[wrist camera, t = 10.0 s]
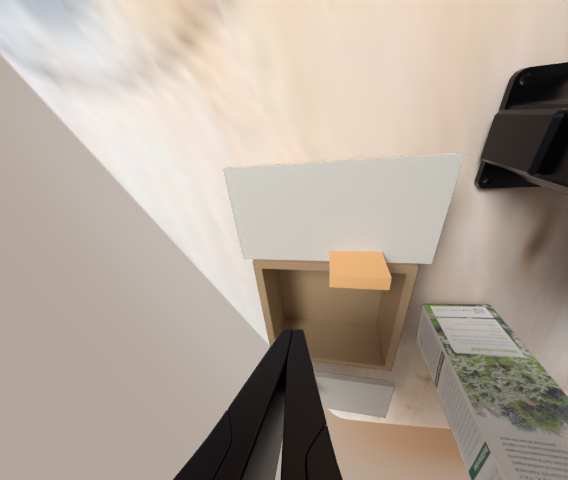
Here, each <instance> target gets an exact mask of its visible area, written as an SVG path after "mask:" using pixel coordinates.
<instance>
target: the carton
mask: <svg viewBox="0 0 568 480" xmlns="http://www.w3.org/2000/svg"><path fill="white" fill-rule="evenodd" d="M386 264H387V267H388V270H389V272H390V275H391V278H392V279H391V284H390V289H389V290H374V289H354V288H335V287H329V261H304V260H266V259H254V260H253V266H254V271H255V276H256V281H257V286H258V291H259V295H260V300H261V305H262V310H263V315H264V320H265V324H266V329H267V334H268V339H269V344H270V347H271V345H272V344H273V342H274V341H275V340H276V338H277V337H278V335H279V334H280V332H281V331H282V330H283V329H284V328H292V329H293V330H294V329H303V330H304V334H305V338H306V342H307V346H308V350H309V354H310V358H311V361H314V362H323V363H331V364H339V365H347V366H355V367H364V368H372V369H380V370H388V371H391V370H392V366H393V362H394V358H395V355H396V351H397V347H398V343H399V340H400V336H401V332H402V328H403V325H404V321H405V317H406V313H407V310H408V306H409V302H410V298H411V295H412V291H413V287H414V283H415V280H416V276H417V272H418V268H419V266H418V264H415V263H386Z"/></svg>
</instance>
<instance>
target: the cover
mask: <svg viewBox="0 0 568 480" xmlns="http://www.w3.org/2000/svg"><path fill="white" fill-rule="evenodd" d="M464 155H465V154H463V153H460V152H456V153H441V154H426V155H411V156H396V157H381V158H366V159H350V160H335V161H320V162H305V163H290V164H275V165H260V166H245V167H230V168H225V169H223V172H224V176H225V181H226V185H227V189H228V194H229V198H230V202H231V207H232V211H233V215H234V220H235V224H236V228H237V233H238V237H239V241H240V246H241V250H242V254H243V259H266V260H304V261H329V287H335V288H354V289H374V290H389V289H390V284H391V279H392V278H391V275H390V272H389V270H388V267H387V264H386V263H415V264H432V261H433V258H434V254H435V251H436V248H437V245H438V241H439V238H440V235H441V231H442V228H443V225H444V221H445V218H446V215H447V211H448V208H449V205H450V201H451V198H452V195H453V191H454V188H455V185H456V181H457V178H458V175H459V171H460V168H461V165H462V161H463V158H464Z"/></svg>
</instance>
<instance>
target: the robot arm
mask: <svg viewBox="0 0 568 480" xmlns="http://www.w3.org/2000/svg"><path fill="white" fill-rule="evenodd" d="M524 74H525V76H526V79H525V81H524V82H523V83H522V84H520V83H519V81H520V78H521V77H522V76H523V75H524ZM481 159H482V162H481V165H480V167H479V170H478V173H477V176H476V179H475V184H476V185H477V186H478V187H481V188H512V187H540V186H543V187H546V188H548V189H551V190H554V191H557V192H560V193H563V194H566V195H568V62H566V63H559V64H551V65H543V66H535V67H529V68H524V69H521V70H519V71H517V72H516V73H514V74H513V76H512V77H511V78H510V80H509V83H508V86H507V89H506V92H505V95H504V97H503V100H502V103H501V106H500V109H499V112H498V113H497V114H496V115H495V117H494V120H493V123H492V126H491V128H490V131H489V134H488V137H487V140H486V143H485V146H484V149H483V152H482V155H481ZM487 177H488V180H487V182H485V183H483V180H484V179H485V178H487ZM282 439H283V444H282V445H283V446H282V464H281V480H343V479H342V476H341V473H340V470H339V467H338V464H337V461H336V457H335V453H334V450H333V446H332V442H331V439H330V434H329V431H328V427H327V423H326V419H325V415H324V411H323V407H322V402H321V398H320V394H319V390H318V386H317V382H316V378H315V374H314V370H313V366H312V362H311V358H310V354H309V350H308V346H307V342H306V338H305V334H304V330H303V329H294V330H293V329H292V328H284V329H283V330H282V331H281V332H280V334H279V335H278V337H277V338H276V340H275V341H274V342H273V344H272V345H271V347H270V348H269V350H268V351H267V353H266V354H265V356H264V357H263V358H262V360H261V361H260V363H259V364H258V366H257V367H256V369H255V370H254V371H253V373H252V374H251V376H250V377H249V379H248V380H247V382H246V383H245V384H244V386H243V387H242V389H241V390H240V392H239V393H238V395H237V396H236V398H235V399H234V400H233V402H232V403H231V405H230V406H229V408H228V410H226V412H225V413H224V415H223V416H222V418H221V419H220V421H219V422H218V423H217V425H216V426H215V427H214V429H213V430H212V432H211V433H210V434H209V436H208V437H207V438H206V440H205V441H204V442H203V443H202V445H201V446H200V447H199V449H198V450H197V451H196V452H195V453H194V455H193V456H192V457H191V458H190V460H189V461H188V462H187V463H186V465H185V466H184V467H183V468H182V469H181V471H180V472H179V473H178V474H177V475H176V476H175V478H174V479H173V480H275V476H276V470H277V465H278V460H279V454H280V449H281V443H282Z"/></svg>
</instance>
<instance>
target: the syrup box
mask: <svg viewBox="0 0 568 480" xmlns="http://www.w3.org/2000/svg"><path fill="white" fill-rule="evenodd" d="M417 343H418V346H419V348H420V351H421V353H422V356H423V358H424V360H425V363H426V365H427V368H428V370H429V373H430V375H431V378H432V380H433V383H434V385H435V388H436V391H437V393H438V396H439V399H440V401H441V404H442V406H443V409H444V412H445V414H446V417H447V420H448V422H449V425H450V427H451V430H452V433H453V435H454V438H455V441H456V444H457V446H458V449H459V452H460V454H461V457H462V459H463V462H464V465H465V468H466V470H467V473H468V476H469V478H470V480H568V397H567V396H566V394H565V393H564V392H563V391H562V389H561V388H560V387H559V386H558V385H557V384H556V382H555V381H554V380H553V379H552V378H551V376H550V375H549V374H548V373H547V372H546V371H545V370H544V368H543V367H542V366H541V365H540V364H539V362H538V361H537V360H536V359H535V358H534V357H533V355H532V354H531V353H530V352H529V351H528V349H527V348H526V347H525V346H524V345H523V344H522V342H521V341H520V340H519V339H518V338H517V336H516V335H515V334H514V333H513V332H512V331H511V329H510V328H509V327H508V326H507V325H506V324H505V322H504V321H503V320H502V319H501V317H500V316H499V315H498V314H497V313H496V312H495V310H494V309H493V308H492V307H491V306H490V305H453V304H447V305H445V304H424V305H423V306H422V310H421V315H420V320H419V326H418V333H417Z"/></svg>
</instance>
